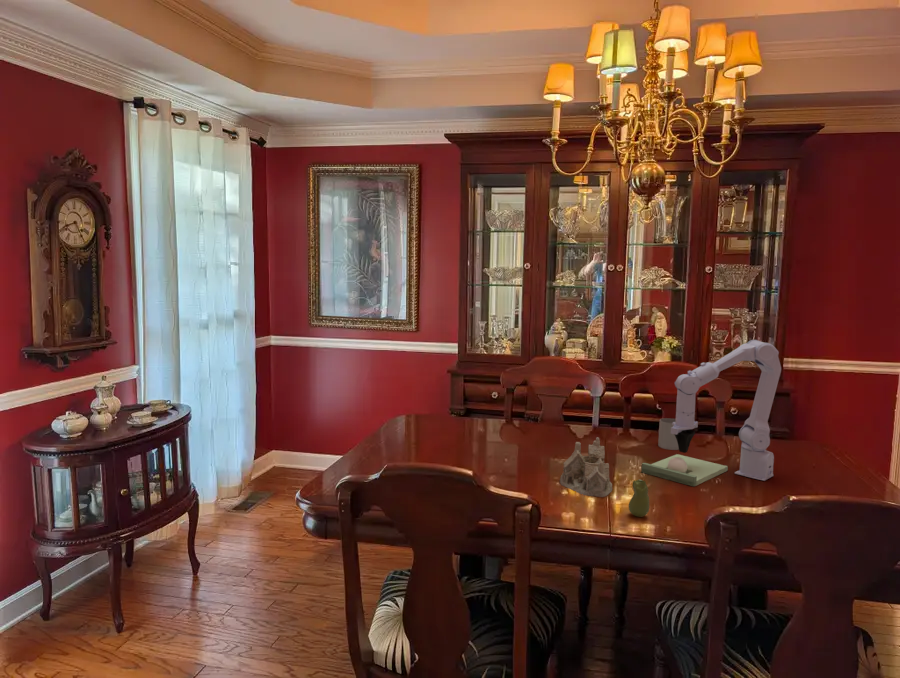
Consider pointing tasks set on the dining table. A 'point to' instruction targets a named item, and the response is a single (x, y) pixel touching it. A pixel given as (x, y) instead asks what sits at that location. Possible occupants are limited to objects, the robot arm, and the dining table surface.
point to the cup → (667, 435)
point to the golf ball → (677, 465)
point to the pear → (639, 499)
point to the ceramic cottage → (587, 471)
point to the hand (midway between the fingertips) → (683, 451)
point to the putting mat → (694, 475)
